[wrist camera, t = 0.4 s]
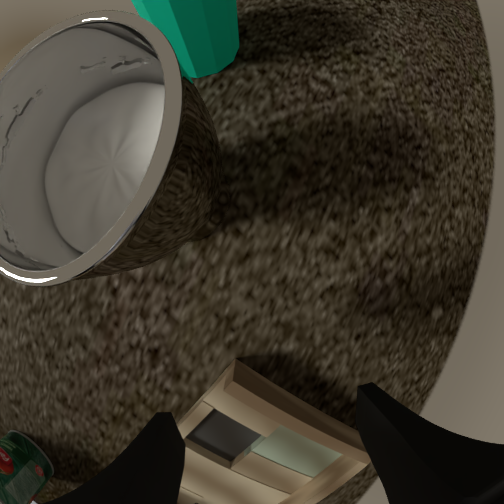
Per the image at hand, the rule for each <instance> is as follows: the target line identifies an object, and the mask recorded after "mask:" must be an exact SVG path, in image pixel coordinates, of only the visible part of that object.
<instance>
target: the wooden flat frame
mask: <svg viewBox="0 0 504 504" xmlns="http://www.w3.org/2000/svg"><path fill="white" fill-rule="evenodd" d="M176 425H177V427H178V429H179V431H180V433H181V436H182V438H183V440H184V442H185V444H186V449H185V465H184V471H183V476H182V481H181V485H180V490H179V495H178V500H177V503H179V504H316V503H317V502H319V501H320V500H322V499H323V498H325V497H326V496H327V495H329V494H330V493H332V492H333V491H335V490H336V489H337V488H339V487H340V486H341V485H343V484H344V483H345V482H347V481H348V480H349V479H350V478H352V477H353V476H354V475H356V474H357V473H358V472H359V471H361V470H362V469H363V468H364V467H365V466H367V465H368V464H369V463H370V462H371V459H370V457H369V455H368V453H367V451H366V449H365V447H364V445H363V443H362V440H361V438H360V435H359V432H358V431H357V430H355V429H353V428H351V427H350V426H348V425H346V424H344V423H342V422H340V421H338V420H336V419H334V418H333V417H331V416H329V415H327V414H325V413H323V412H322V411H320V410H318V409H316V408H315V407H313V406H311V405H309V404H308V403H306V402H304V401H302V400H301V399H299V398H297V397H296V396H294V395H292V394H291V393H289V392H287V391H286V390H284V389H282V388H281V387H279V386H277V385H276V384H274V383H273V382H271V381H269V380H268V379H266V378H265V377H263V376H262V375H260V374H258V373H257V372H255V371H254V370H252V369H251V368H249V367H248V366H246V365H245V364H243V363H242V362H240V361H239V360H237V359H236V358H235V359H234V361H233V362H232V363H231V364H230V365H229V366H228V368H227V369H226V370H225V371H224V372H223V373H222V374H221V376H220V377H219V378H218V379H217V380H216V381H215V382H214V383H213V385H212V386H211V387H210V388H209V389H208V390H207V391H206V392H205V394H204V395H203V396H202V397H201V398H200V399H199V400H198V401H197V402H196V403H195V405H194V406H193V407H192V408H191V409H190V410H189V411H188V412H187V413H186V414H185V415H184V416H183V418H182V419H181V420H180V421H179V422H178V423H177V424H176Z"/></svg>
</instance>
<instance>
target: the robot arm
mask: <svg viewBox="0 0 504 504" xmlns="http://www.w3.org/2000/svg"><path fill="white" fill-rule="evenodd" d="M355 422H356V425H357V428H358V432H359V435H360V438H361V440H362V443H363V445H364V447H365V449H366V451H367V453H368V455H369V457H370V459H371V461H372V463H373V465H374V467H375V469H376V471H377V473H378V475H379V477H380V480H381V482H382V484H383V486H384V489H385V492H386V495H387V497H388V501H389V504H504V444H495V443H489V442H484V441H479V440H475V439H472V438H468V437H465V436H462V435H459V434H456V433H453V432H451V431H448V430H446V429H444V428H442V427H439V426H437V425H435V424H433V423H431V422H429V421H427V420H425V419H424V418H422V417H421V416H419V415H417V414H416V413H414V412H413V411H411V410H410V409H408V408H407V407H405V406H404V405H402V404H401V403H399V402H398V401H397V400H395V399H394V398H393V397H391V396H390V395H389V394H387V393H386V392H385V391H383V390H382V389H381V388H379V387H378V386H377V385H376V384H374V383H373V382H371V383H368V384H364V385H360V386H358V390H357V404H356V417H355ZM185 449H186V444H185V442H184V440H183V438H182V436H181V433H180V431H179V429H178V427H177V425H176V422H175V420H174V418H173V416H172V413H171V412H157V413H156V414H155V415H154V416H153V418H152V419H151V420H150V421H149V422H148V423H147V425H146V426H145V427H144V428H143V429H142V431H141V432H140V433H139V434H138V435H137V437H136V438H135V439H134V440H133V441H132V442H131V443H130V444H129V446H128V447H127V448H126V449H125V450H124V451H123V452H122V453H121V454H120V455H119V456H118V457H117V458H116V459H115V460H114V461H113V462H112V463H111V464H110V465H109V466H107V467H106V468H105V469H104V470H103V471H101V472H100V473H99V474H98V475H96V476H95V477H94V478H92V479H91V480H89V481H88V482H86V483H84V484H83V485H81V486H80V487H78V488H77V489H75V490H73V491H71V492H69V493H67V494H65V495H63V496H61V497H59V498H57V499H54V500H52V501H49V502H46V503H43V504H177V500H178V495H179V490H180V485H181V481H182V476H183V471H184V465H185Z"/></svg>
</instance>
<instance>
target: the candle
mask: <svg viewBox="0 0 504 504" xmlns="http://www.w3.org/2000/svg"><path fill="white" fill-rule="evenodd" d="M131 1H132V3H133V4H134V6H135V8H136V10H137V12H138V13H139V15H140V17H143V18H144V19H146V20H148V21H150V22H151V23H152V24H154V25H155V26H156V27H157V28H159V29H160V30H161V31H162V33H163V34H164V35H165V36H166V37H167V39H168V40H169V42H170V43H171V45H172V47H173V49H174V51H175V53H176V56H177V59H178V60H179V62H180V63H181V65H182V66H183V68H184V69H185V71H186V72H187V74H188V75H189V77H194V78H199V77H203V76H207V75H211V74H215V73H218V72H219V71H221V70H222V69H223V68H225V67H226V66H227V65H229V64H230V63H231V62H233V61H234V58H235V56H236V53H237V51H238V49H239V34H238V20H237V6H236V0H131Z"/></svg>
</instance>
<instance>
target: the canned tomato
mask: <svg viewBox="0 0 504 504" xmlns="http://www.w3.org/2000/svg"><path fill="white" fill-rule="evenodd" d="M53 474H54V468H53V465H52V463H51V461H50V460H49V458H48V457H47V455H46V454H45V453H44V452H43V450H42V449H41V448H40V447H39V446H38V445H37V444H36V443H35V442H34V441H32V440H31V439H30V438H29V437H27V436H26V435H25V434H23V433H21V432H19V431H16V430H11V431H9V432H8V434H7V435H5V436H4V437H3V438H2V439H1V440H0V504H30V503H31V502H32V501H33V500H34V498H35V497H36V496H37V494H38V493H39V492H40V490H41V489H42V488H43V486H44V485H45V484H46V483H47V482H48V480H49V478H50V477H51V476H52V475H53Z"/></svg>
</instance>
